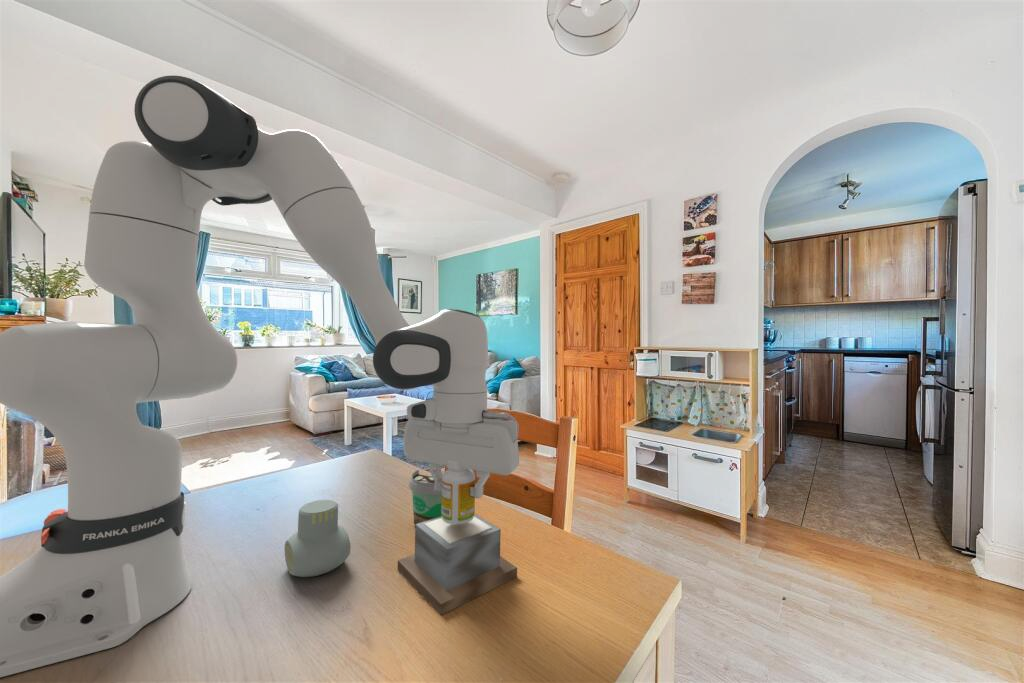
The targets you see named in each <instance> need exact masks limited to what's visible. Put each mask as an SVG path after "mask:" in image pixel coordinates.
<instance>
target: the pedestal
mask: <svg viewBox="0 0 1024 683" xmlns="http://www.w3.org/2000/svg"><path fill="white" fill-rule="evenodd" d="M414 527H415V528H414V530H415V532H414V553H413V554H411V555H407V556H405V557H403V558H400V559H397V571H398V572H400V574H401V575H403V577H404V578H405V579H406V580H407V582H409V583H410V584H411V585H412V586H413V587H414V588H415V590H416V591H417V592H418V593H420V595H421V596H422V597H423V599H425V600H426V601H427V603H429V605H430V606H432V608H433V609H434V610H435V611H436V612H437V613H438V614H439V615H440V616H442V615H444V614H446V613H449V612H450V611H452V610H455V609H456V608H458V607H460V606H462V605H464V604H466V603H468V602H470V601H472V600H474V599H476V598H478V597H479V596H482V595H484V594H486V593H488V592H490V591H493V590H494V589H496V588H497V587H498V588H499V587H500V586H501V585H505V584H506V583H508V582H510V581H512V580H514V579H516V578H518V567H517V566H516V565H514V564H513V563H511V562H510V561H508V560H507V559H505V558H504V557H502V556H501V531H502V530H501V528H500V527H498V526H496V525H494V524H493V523H492V522H490V521H488V520H486V519H484V518H482V517H481V516H479V515H478V514H476V513H475V514H474V518H473V519H472V520H471V521H470V522H467V523H464V524H449V523H446V522H444V521H443V520H442V516H441V517H437V518H434V519H431V520H428V521H424V522H421V523H418V524H415V526H414Z"/></svg>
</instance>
